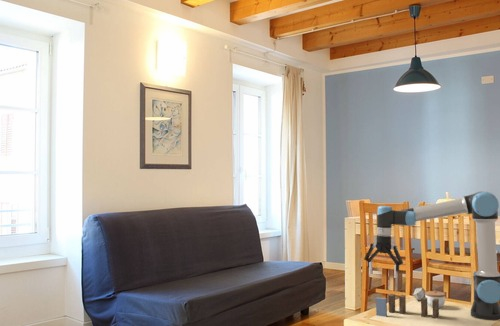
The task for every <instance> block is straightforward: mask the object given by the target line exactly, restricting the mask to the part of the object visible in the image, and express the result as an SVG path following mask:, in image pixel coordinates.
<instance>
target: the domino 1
mask: <svg viewBox="0 0 500 326" xmlns="http://www.w3.org/2000/svg"><path fill="white" fill-rule="evenodd" d="M387 303H388V300H387V298H385V297H376V298H375V306H376V307H375V309H376V310H375V312H376V316H379V317H384V318H385V317H387V316H388V304H387Z"/></svg>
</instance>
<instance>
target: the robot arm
mask: <svg viewBox="0 0 500 326" xmlns="http://www.w3.org/2000/svg"><path fill="white" fill-rule="evenodd" d="M499 208H500V207H499V199H498V198H497V197H496V195H495V194H493V193H491V192H488V191H478V192H475V193H473V194H469V195H464V196H462V198H458V199H453V200H448V201H444V202H438V203H437V202H436V203H433V204H427V205H421V206H416V207H412V208H411V207H410V208H403V209H401V210H394V209H393V207H392V206H390V205H388V206H387V205H379V206H378V207H377V213H376V243H374V242H371V243H370V245H369V249H368V251H367V253H366V254H365V256H364V258H363V259H364V261H366V262H367V268H368V275H372V274H373V263H374V262H373V261H372V260H373V259H374V258H375V257H376V256H377V255H378V254H379V253H380V254H387V255H388V256H389V257H390V259H391V260H392V261H393V262H394V266H393V267H394V269H393V278H394V279H397V278H398V272H400V265H403V264H404V261H403V259H402V257H401V255H400V252H399V251H398V245H392V231H393V230H392V229H393V228H392V227H393V225H395V226H396V225H397V226H408V227H414V226H415V225H416V222H421V221H426V220H431V219H438V218H444V217H450V216H455V215H461V214H466V215H472V220H473V221H474V222H475V229H476V231H475V232H476V248H477V249H476V250H477V266H478V268H477V270H476V271H474V272H473V275H472V278H473V281H472V282H473V302H472V305H471V308H470V316H471V317H474V318H475V319H482V320H488V321H489V320H491V321H492V320H493V321H496V320H497V321H498V320H500V303H499V301H500V272H499V271H498V257H497V237H496V234H497V233H496V222H497V221H498V220H499V212H498V209H499ZM375 248H376V250H375V251H374V249H375ZM391 249H392V250H391ZM373 251H374V252H373ZM392 251H393V252H394V254H393V252H392ZM371 254H372V255H371Z"/></svg>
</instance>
